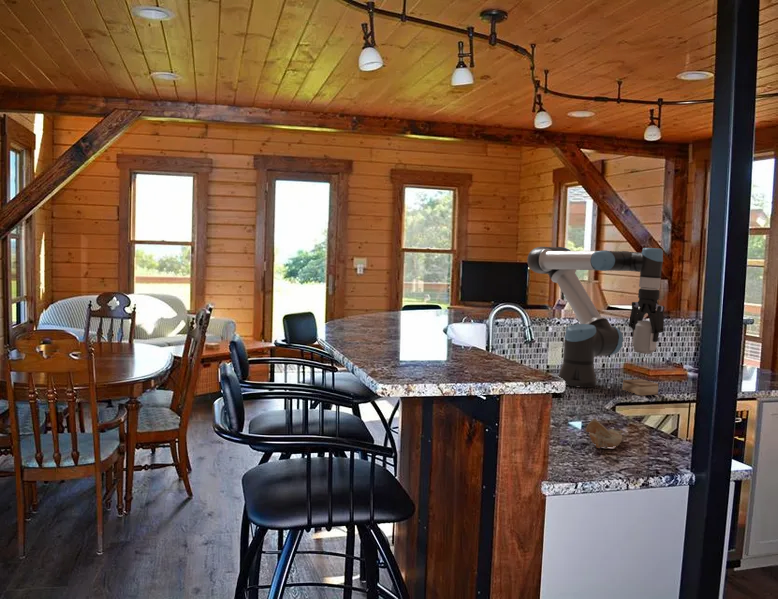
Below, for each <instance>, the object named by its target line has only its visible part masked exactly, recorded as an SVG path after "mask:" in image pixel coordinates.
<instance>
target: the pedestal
mask: <svg viewBox="0 0 778 599" xmlns="http://www.w3.org/2000/svg"><path fill="white" fill-rule="evenodd" d="M623 390H626V391H625V392H627V391H628V392H627V393H630V392H631V393H630V394H633V393H635V394H634V395H636V396H641V397H642V396H650V395H651V396H652V395H653V396H654V395H658V394H659V393H658V392H659V383H657V382H655V381H649V380H646V379H643V378H635V379H634V378H633V379H623V381H622V391H623Z"/></svg>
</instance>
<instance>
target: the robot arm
mask: <svg viewBox="0 0 778 599" xmlns="http://www.w3.org/2000/svg"><path fill="white" fill-rule="evenodd" d="M663 256H664V251H663V249H662V248H659V247H655V248H654V247H643V248H642V251H641V252H637V251H627V250H621V251H620V250H615V251H614V250H605V249H604V250H572V249H569V248H567V247H562V246H557V247H556V246H537V247H534V248H533V249H532V250H530V252H529V253H528V255H527V257H526V261H527V265H528V267H529V269H530V270H531V271H532V272H533V273H536V274H541V275H543V274H544V275H545V274H546V275H548V277H549V279H551V281H552V282H553V283H555V284H557V285H558V287H559V289H560V290H561V291H562V294H563V296H564V298H565V300H566V301H567V303H568V305H569V306H570V308H571V309H572V311H573V313H574V314H575V316H576V318H577V321H578V322H579V323H580V324H579V323H576V324H570V325H569V326H567V327H566V328H565V333H564V343H563V345H564V346H563V361H562V365H561V368H560V371H559V374H558V375H557V377H558V376H559V377H561V378H563V379H564V380H565V381H566V383H567V384H568V386H567V387H573V386H580V387H579V388H594V387H596V386H597V382H598V380H597V376H596V371H595V368H594V361H595V357H609V356H613V355H616V354H617V353H619V352H620V350H621V349H622V347H623V343H624V336H623V333H622V331H621V330H620V328H618V327H616V326H613V325H611V323H610V322H609V320H608V319H607V318H606V317H603V316H601V315H600V313H599V311H598V309H597V308H596V305H595V304H594V303H593V301H592V299H591V297H590V296H589V294H588V292H587V291H586V289H585V287H584V286H583V284H582V283H581V280H580V278H579V277H578V276H577V274H576V272H577V270H578V271H579V270H580V271H600V272H606V271H608V272H609V271H611V272H613V271H615V272H616V271H617V272H637V273H639V283H638V287H639V289H638V294H637V297H638V301H632V302H631V311H630V315H629V320H628V321H629V322H628V327H629V328H631V329H632V331H631V332H632V333H631V337H632V344H631V345H632V347H633V348H634V337H635V326H636V324H637V323H638V321H643V319H644V317H645V315H646V314H647V315H648V317H649V321H650V322H651V326H652V331H653V332H652V333H651V336H650V347H649V350H654V351H656V350H657V343H658V342H659V335H660V333H664V331H665V324H664V322H665V321H664V316H665V315H664V313H665V312H664V311H665V308H666V307H665V306H664V305H660V304H659V302H658V300H659V299H660V293H661V291H660V289H661V282H662V280H661V279H662V270H663V269H662V268H663V262H664V257H663ZM569 385H570V386H569Z"/></svg>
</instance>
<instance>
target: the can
mask: <svg viewBox="0 0 778 599" xmlns="http://www.w3.org/2000/svg"><path fill="white" fill-rule="evenodd" d="M652 332H653V331H652V326H651V322H650V320H649V321H648V320H642V321H638V323H637V324H636V326H635V337H634V347H633V348H632V349H633V350H634V351H635V352H636V353H637V354H643V355H644V354H647V355H650V354H653V353H654V352H655V350H649V347H650V336H651V333H652Z"/></svg>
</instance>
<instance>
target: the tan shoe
mask: <svg viewBox="0 0 778 599" xmlns="http://www.w3.org/2000/svg"><path fill="white" fill-rule="evenodd" d="M585 431H586V432H587V433H589V439H590V441H591V443H592V444H593V443H594V444H596V446H595V447H596V449H597V448H600V447H604V446H607V447H613V446H617V447H618V446H619V445H620V444H621V443H622V440H623V433H624V430H623V429H621V428H610V429H607V428H606V427H605V426H604V425H603V424H602V423H601V422H599V420H597V419H596V418H595V417H594V418H592V419H591V421H590V422H588V424H587V425H586V429H585ZM594 444H593V445H594Z"/></svg>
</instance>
